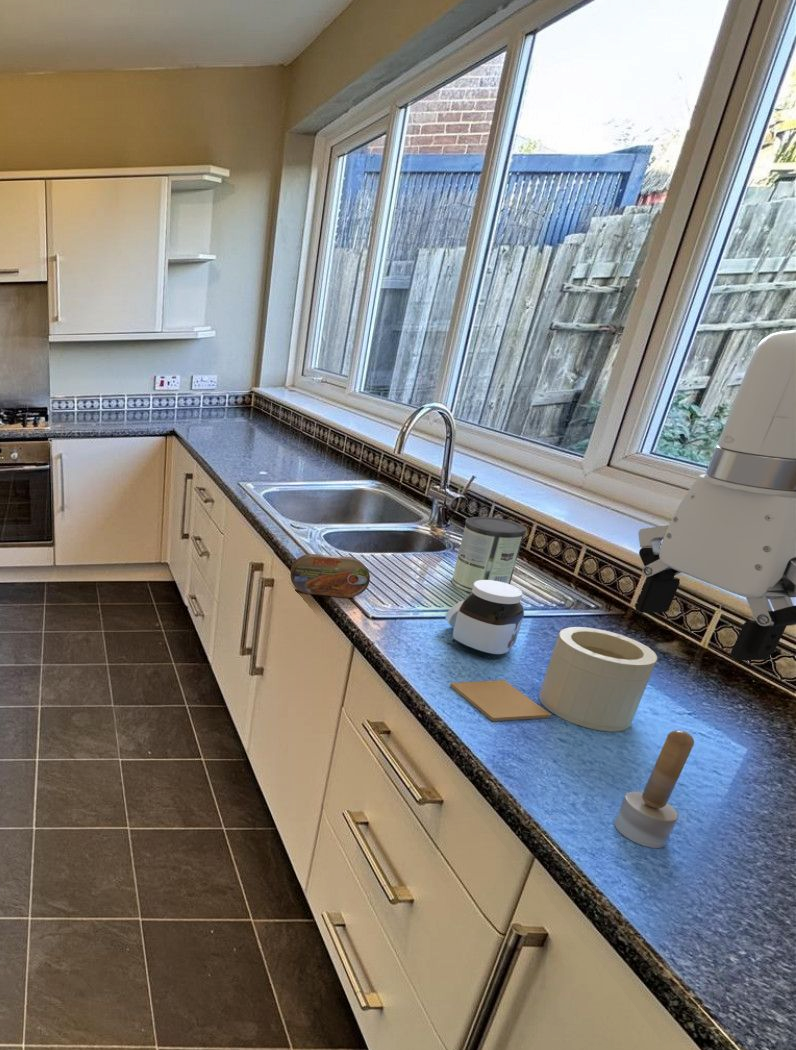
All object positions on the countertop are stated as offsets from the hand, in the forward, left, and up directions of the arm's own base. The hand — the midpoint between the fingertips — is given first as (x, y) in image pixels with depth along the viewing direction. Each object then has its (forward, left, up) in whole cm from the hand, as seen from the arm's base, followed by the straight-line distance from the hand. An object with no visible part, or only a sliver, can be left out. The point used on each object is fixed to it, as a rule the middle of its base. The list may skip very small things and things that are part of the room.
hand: (696, 633), depth 63 cm
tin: (+3, -62, -25) cm, 67 cm away
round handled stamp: (-1, +2, -25) cm, 25 cm away
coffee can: (-31, -62, -25) cm, 73 cm away
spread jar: (-13, -40, -25) cm, 49 cm away
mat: (-4, -23, -25) cm, 34 cm away
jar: (-15, -20, -25) cm, 35 cm away
